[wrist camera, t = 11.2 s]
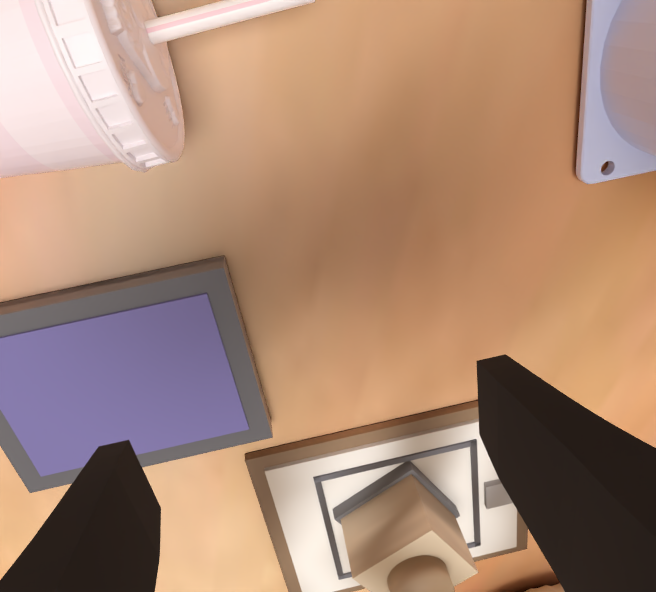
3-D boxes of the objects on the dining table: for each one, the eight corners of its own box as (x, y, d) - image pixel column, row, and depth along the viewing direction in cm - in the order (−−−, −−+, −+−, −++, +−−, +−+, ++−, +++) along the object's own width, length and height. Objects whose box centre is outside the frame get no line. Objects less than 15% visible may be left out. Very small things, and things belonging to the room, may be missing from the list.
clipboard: (540, 385, 25) (550, 398, 25) (534, 540, 31) (542, 554, 30) (244, 453, 25) (245, 469, 24) (292, 598, 30) (294, 614, 29)
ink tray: (224, 255, 20) (223, 268, 19) (271, 421, 24) (272, 439, 23) (-59, 315, 19) (-74, 332, 19) (37, 474, 23) (29, 494, 23)
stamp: (408, 459, 26) (441, 547, 22) (455, 505, 28) (493, 593, 24) (332, 509, 26) (350, 601, 22) (383, 550, 28) (408, 642, 24)
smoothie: (-92, 234, 18) (337, 123, 17) (-305, 285, 12) (353, 117, 11) (-192, 17, 16) (283, -112, 15) (-506, -56, 10) (266, -276, 9)
